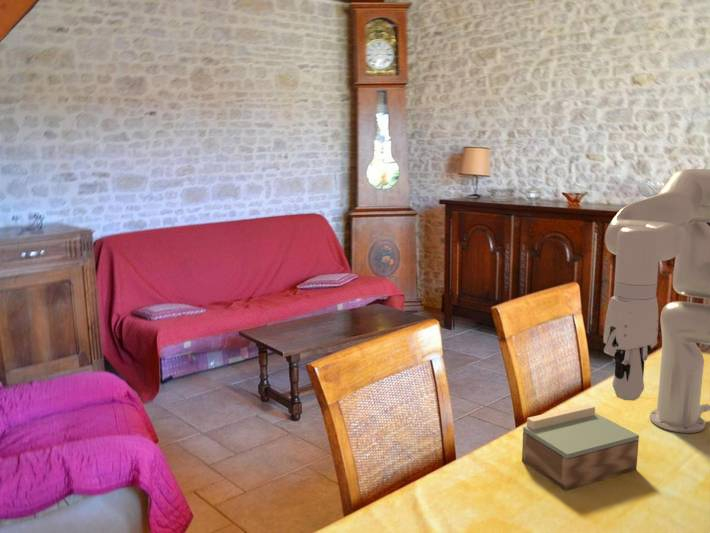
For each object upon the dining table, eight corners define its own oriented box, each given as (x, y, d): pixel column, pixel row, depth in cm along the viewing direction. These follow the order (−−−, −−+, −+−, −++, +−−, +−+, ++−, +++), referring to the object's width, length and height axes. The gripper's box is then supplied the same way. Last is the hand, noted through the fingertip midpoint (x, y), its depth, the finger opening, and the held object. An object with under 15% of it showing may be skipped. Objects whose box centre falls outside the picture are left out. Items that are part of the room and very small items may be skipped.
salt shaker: (646, 403, 125) (650, 340, 122) (614, 401, 126) (619, 338, 123) (639, 391, 130) (643, 330, 128) (609, 390, 132) (613, 329, 129)
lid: (591, 414, 152) (592, 403, 151) (638, 439, 139) (639, 426, 139) (523, 431, 144) (523, 418, 143) (566, 458, 131) (567, 445, 131)
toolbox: (589, 443, 153) (591, 415, 152) (636, 469, 141) (638, 440, 139) (521, 460, 145) (523, 432, 144) (565, 490, 133) (566, 459, 131)
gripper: (649, 281, 130) (643, 367, 134) (588, 291, 124) (583, 380, 128) (681, 289, 124) (674, 379, 127) (618, 299, 117) (612, 393, 121)
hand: (628, 378), depth 128 cm, fingers closed on salt shaker, 3 cm apart
